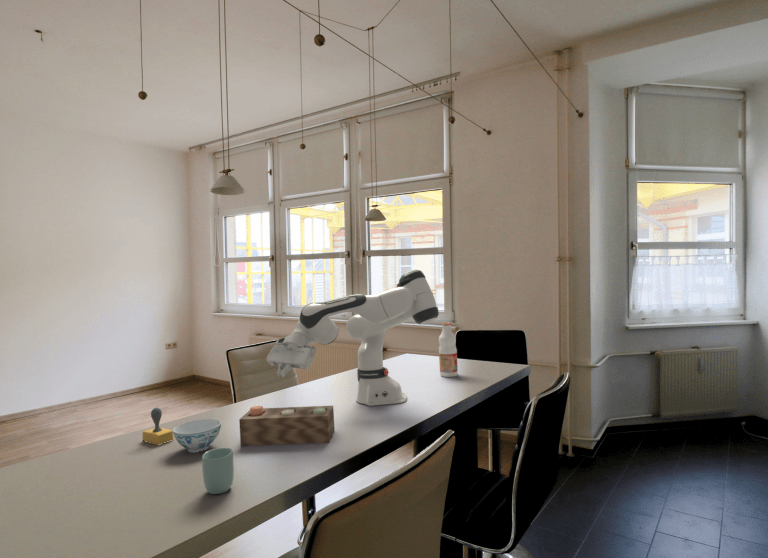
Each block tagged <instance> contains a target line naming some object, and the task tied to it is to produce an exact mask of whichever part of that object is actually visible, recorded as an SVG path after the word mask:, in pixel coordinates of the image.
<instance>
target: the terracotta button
mask: <svg viewBox="0 0 768 558" xmlns="http://www.w3.org/2000/svg"><path fill="white" fill-rule="evenodd" d="M263 408H264V406H262V405H254V406H252V407H251V406H250V408H249V410H250V416H259V415H262V414H263Z"/></svg>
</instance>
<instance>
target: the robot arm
mask: <svg viewBox="0 0 768 558" xmlns="http://www.w3.org/2000/svg"><path fill="white" fill-rule="evenodd" d="M343 313H354V314H355V315H353V316H350V318H348V319H347V321H346V325H345V329H346V333H347V334H348V336H349V337H350V338H352V339H356V340H361V343H360V346H359V347H358V349H357V352H356V353H357V354H356V355H357V369H356V373H357V374H356V376H357V377H356V378H357V382H358V385H357V386H358V387H357V396H356V400H355V402H357V403H359V404H361V405H366V406H369V407H371V406H373V407H374V406H381V405H382V406H384V405H393V404H402V403H403V404H404V403H405V402H407V400H408V395H407V393H404V392H403V391H402V386H401V385H400V383H399V382H398V381H396V380H395V379H393V378H392V377H391V376H390V375H389V373H390V372H389V369H388V368H387V367H385V366H384V361H383V359H384V357H383V356H384V355H383V349H384V348H383V346H384V342H385V338H386V337H385V336H386V332H387V330H390V329H392V328H394V327H397V326H399V325H402V324H404V323H406V322H408V321H410V320H414V322H415V323H417V324H418V325H428V324H431V323H432V322H434V321H435V320H436V319H437V318H438V317H439V315H440V314H439V313H440V312H439V307H438V306H437V302H436V298H435V296H434V293H433V291H432V289H431V286H430V284H429V283H428V281H427V278H426V276H425V274H424V272H423V271H422V270H419V269H412V270H411V269H410V270H408V271H406V272H405V273H403V274H402V275H401V276H400V278H399V279H398V283H397V284H396V287H394V288H390V289H386V290H384V291H381V292H378V293H375V294H367V295H366V294H361V293H356V294H349V295H345V296H342V297H337V298H334V299H329V300H325V301H319V302H312V303H308V304H307V305H305V306H304V307H303V308H302V309H301V310H300V315H299V319H298V321H297V323H296V324H295V328H294V330H292V332H291V333H290V334H289V335H287V336H285V337H281V338H277V340H276V341H275V343H276V344H274V346H272V348H271V349H270V351H269V352H268V354H267V355H266V362H267V363H268V364H269V365H270V366H273V367H278V369H277V372H276V376H277V377H282V378H285V377H286V375H287V373H289V372H290V371H291V370H292V369H299V370H300V369H301V370H308V369H309V368H311V364H312V363H313V361H314V358H315V357H314V356H315V354H316V352H317V348H316V347H315V346H314V345H312V346H311V344H312V343H316V344H319V345H323V346H324V345H325V346H327V345H330V344H333V343H334V341H335V340H337V337H338V336H339V328H338V326H337V325H336V323H335V322H334V320H333V319H332V318H331V317H332V316H335V315H336V316H337V315H339V314H343Z"/></svg>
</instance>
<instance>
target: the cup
mask: <svg viewBox="0 0 768 558" xmlns="http://www.w3.org/2000/svg"><path fill="white" fill-rule="evenodd" d="M234 464H235V463H234V451H233V449H232V448H228V447H220V448H213V449H210V450H207V451H205V452H204V453H203V454H202V456H201V468H202V469H201V470H202V471H201V473H202V479H203V484H204V488H205V490H206V492H207V493H209V494H211V495H221V494H224V493H225V492H228V491H229V490H230V489H231V487H232V485H233V482H234V478H235V477H234V476H235V467H234V466H235V465H234Z"/></svg>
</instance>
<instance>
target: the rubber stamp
mask: <svg viewBox="0 0 768 558" xmlns="http://www.w3.org/2000/svg"><path fill="white" fill-rule="evenodd" d="M162 412H163V411H162V409H161V408H159V407H154V408H153V409H152V410H151V412H150V417H151V419H152V421H153V423H154V427H153V428H150V429H147V430H144V431H142V441H143V440H144V441H147V442H150V443H149V444H151V443H153V444H152V445H155V444H157V445H156V446H158V445H159V444H161V443H164V442H167V441H170V440H173V441H174V433H173V429H169V428H163V427H160V422H161V418H162V416H163V415H162ZM144 441H143V442H144ZM147 442H146V443H147Z"/></svg>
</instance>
